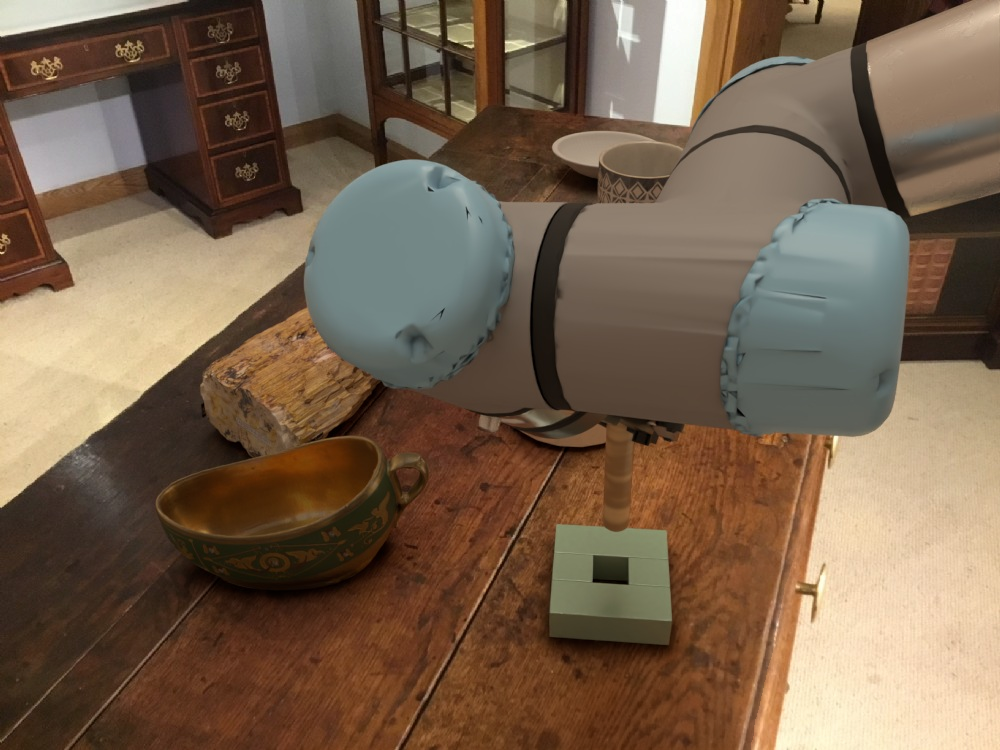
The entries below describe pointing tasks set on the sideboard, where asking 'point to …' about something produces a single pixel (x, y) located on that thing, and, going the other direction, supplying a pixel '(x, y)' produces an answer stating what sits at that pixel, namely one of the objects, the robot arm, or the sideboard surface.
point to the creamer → (291, 513)
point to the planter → (635, 171)
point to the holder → (610, 585)
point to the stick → (617, 477)
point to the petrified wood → (282, 389)
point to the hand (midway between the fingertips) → (639, 420)
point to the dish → (590, 148)
